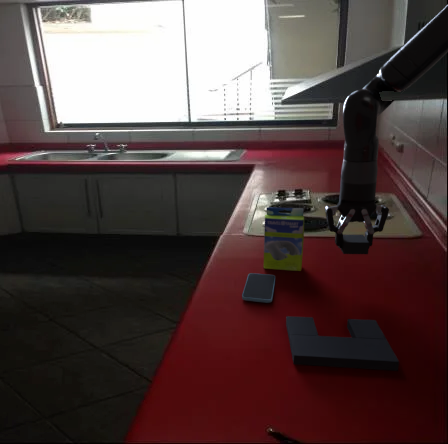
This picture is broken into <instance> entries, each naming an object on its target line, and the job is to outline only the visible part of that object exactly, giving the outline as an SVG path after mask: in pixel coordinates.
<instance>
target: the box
mask: <svg viewBox="0 0 448 444" xmlns="http://www.w3.org/2000/svg"><path fill="white" fill-rule="evenodd" d="M284 210H285V211H287V212H280V211H284ZM304 212H305V208H304V207H303V208H302V207H274V206H273V207H272V206H271V207H266V214H264V229H263V230H264V234H263V235H264V237H263V242H264V243H263V264H262V265H263V266H262V267H263V269H264V270H265V269H267V270H281V271H291V272H292V271H293V272H302V268H303V267H302V265H303V255H304V254H303V253H304V241H305V215H304Z"/></svg>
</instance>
